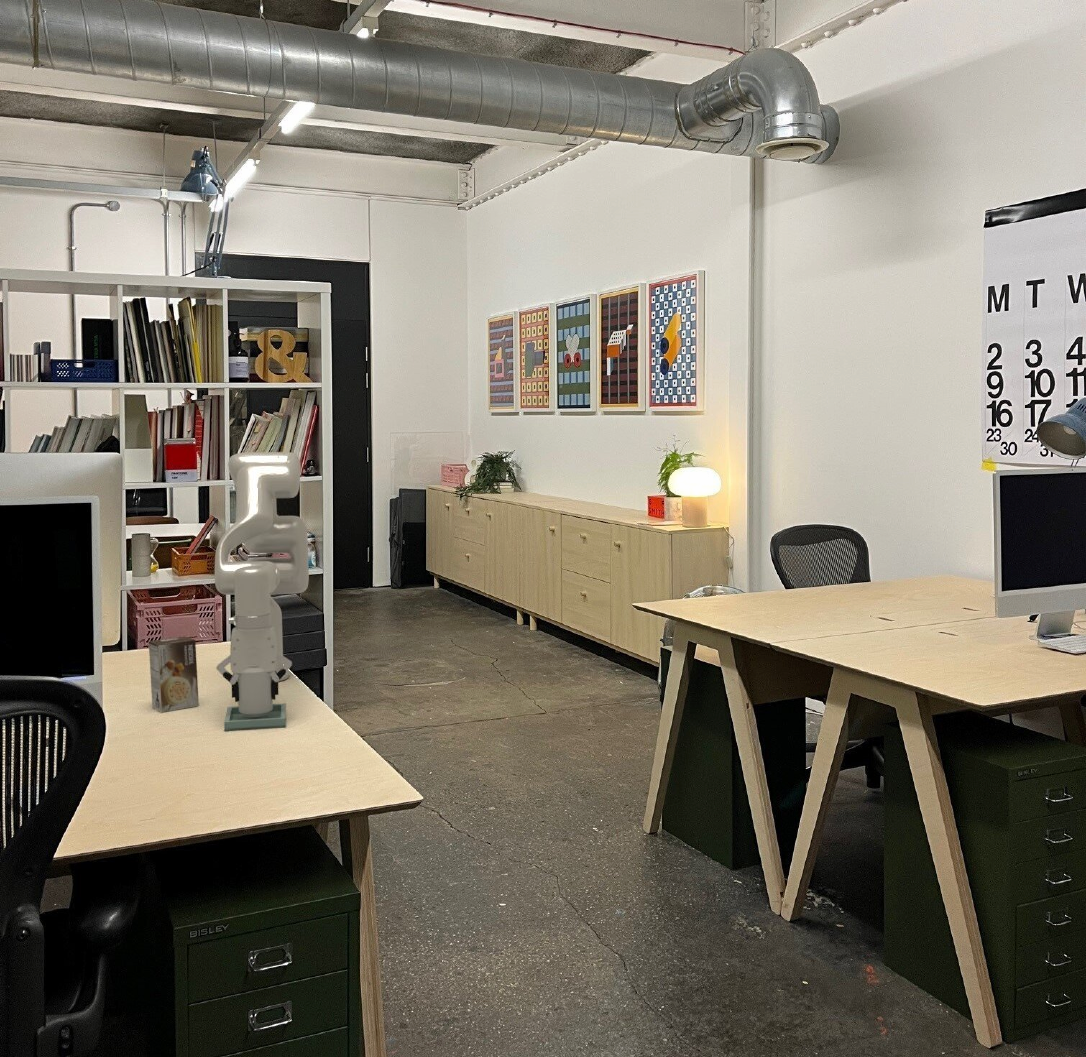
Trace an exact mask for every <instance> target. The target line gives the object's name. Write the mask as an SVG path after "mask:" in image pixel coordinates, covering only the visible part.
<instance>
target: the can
mask: <svg viewBox="0 0 1086 1057" xmlns="http://www.w3.org/2000/svg"><path fill="white" fill-rule="evenodd" d="M247 666H249V668H248V669H246V670H245V671H243V672H242V674H238V679H237V681H238V700H239V701H238V702H237V703H238V705H237V706H239V712H240V713H241V714H242V715H243V716H246V717H259V716H264V715H267V714H269V712H270V711H271V710H272V709H273V704H274V703H273V702H274V700H273V699H272V677H271V673H267V672H266V671H265V670H264V669H262V668H259V666H260V665H247Z"/></svg>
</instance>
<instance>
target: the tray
mask: <svg viewBox="0 0 1086 1057" xmlns="http://www.w3.org/2000/svg"><path fill="white" fill-rule="evenodd" d="M286 706H287V705H286V703H273V709H272V710H271V711H270V712H269V714H267V715H264V716H259V717H246V716H243V715H242V714H241V713H240V712H239V705H236V706H234V705H233V706H227V707H226V712H225V717H224V722H223V725H224V727H223V728H224V732H234V731H249V730H265V729H281V728H283V729H284V728H287V723H286V722H287V707H286Z"/></svg>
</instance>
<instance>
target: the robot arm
mask: <svg viewBox="0 0 1086 1057" xmlns="http://www.w3.org/2000/svg"><path fill="white" fill-rule="evenodd" d="M227 466H228V472H229V474H230V477H231V478H230V479H231V480H232V482H233V484H234V486H235V487H236V488H235V490H236V493H235V496H236V500H235V501H236V502H235V504H236V505H235V522H234V523H233V524H232V525H231V526H230V527H229V528H228V529H227V530H226V531H225V532H224V533H223V535H222V536H221V538H220V540H219V541H218V544H217V546H216V550H215V555H214V556H215V557H214V583H215V585H214V586H215V588H216V590H217V591H218V592H219V594H222V595H227V596H229V595H231V596H233V595H234V614H235V615H234V616H232V617H228V624H229V625H231V624H232V625H234V626H235V627H233V628H232V630H231V634H230V654H229V655H228V656H227V657H226V658H224V659H223V660H222V661H221V662H219V663H218V664H217V665H216V668H215V669H216V670H217V671H218V672H219V673H220V674H221V675H222V677H223V678H224V679H225V680H226V681H228V682H229V683H230V685H231V698H234V702H235V703H238V701H239V700H238V674H242V672H243V671H245V670H246V669H248V668H249V666H247V665H260V666H259V668H262V669H264V670H265V671H266V672H267V673H271V677H272V699H273V701H275V700H276V698H277V697H276V696H278V695H279V693H280V692H279V682H282V681H285V680H287V679H289V677H290V671H289V670H290V668H291V666H293V662H292V661H291V660H290V659H288V658H287V657H285V656H284V649H283V648H284V645H283V642H284V640H283V616H282V615H283V614H282V609H281V607H280V606H279V604H278V603H277V601H275V599H274V598H273V597H272V596H273V595H292V594H295V595H296V594H300V593H304V592H305V591H306V590H307V589H308V586H309V581H310V580H309V579H310V578H309V576H310V573H309V572H310V570H309V549H308V548H309V545H308V543H309V542H308V530H307V525H306V523H305V520H304V519H303V518H301V517H300V516H298V515H278V512H277V499H291V498H295V497H297V495H298V493H299V490H300V485H301V473H302V468H301V460H300V458H299V456H298V455H297V454H296V453H294V452H288V451H273V452H271V451H268V452H267V451H266V452H265V451H252V452H251V451H250V452H249V451H248V452H247V451H246V452H239V453H234V454H233V455H231V456H230V457H229V459H228V464H227ZM241 544H244V547H245V549H246V550H247V551H248V552H250V553H252V554H283V553H284V554H285V553H286V554H288V555H289V556H290V557H288V556H285V557H283V556H282V557H256V558H255V557H254V558H249V559H247V560H245V561H244V560H243V561H240V560H238V561H228V559H229V555H230V554H231V552H232V551H234V549H235V548H237V547H238V546H239V545H241ZM228 665H229V666H230V671H231V672H229V671H228V670H227V669H226V666H227V667H228Z"/></svg>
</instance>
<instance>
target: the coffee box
mask: <svg viewBox="0 0 1086 1057" xmlns="http://www.w3.org/2000/svg"><path fill="white" fill-rule="evenodd" d="M196 645H197V644H196V639H194V638H191V637H188V636H186V635H184V636H179V637H171V638H170V637H169V638H163V639H157V640H156V639H155V640H149V641H148V652H149V670H150V688H151V689H150V690H151V691H150V692H151V693H150V694H151V707H152V708H153V709H155V711H159V713H166V712H173V711H178V710H183V709H189V708H193V707H194V708H195V707H199V706H200V702H199V701H200V700H199V686H198V685H199V684H198V683H199V682H198V666H197V665H198V663H197V662H198V661H197V648H196Z"/></svg>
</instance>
